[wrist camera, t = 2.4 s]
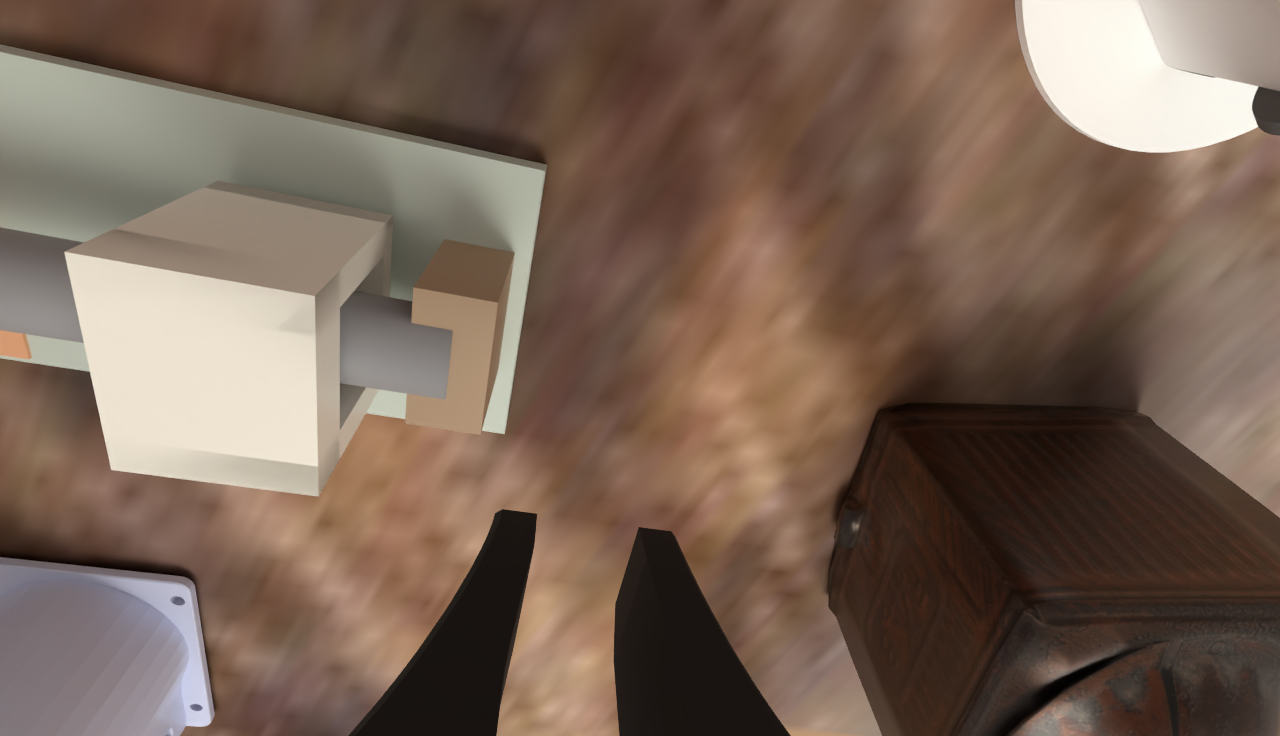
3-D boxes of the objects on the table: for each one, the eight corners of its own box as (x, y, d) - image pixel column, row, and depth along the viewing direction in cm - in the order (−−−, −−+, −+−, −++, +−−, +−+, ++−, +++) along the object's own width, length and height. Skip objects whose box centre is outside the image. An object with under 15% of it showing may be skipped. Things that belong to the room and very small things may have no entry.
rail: (547, 164, 18) (530, 216, 14) (507, 420, 22) (484, 524, 18) (-405, -46, 15) (-845, -67, 10) (-238, 306, 19) (-497, 399, 14)
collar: (393, 215, 17) (315, 296, 12) (386, 377, 20) (318, 496, 15) (218, 180, 17) (64, 251, 12) (233, 352, 19) (111, 469, 14)
